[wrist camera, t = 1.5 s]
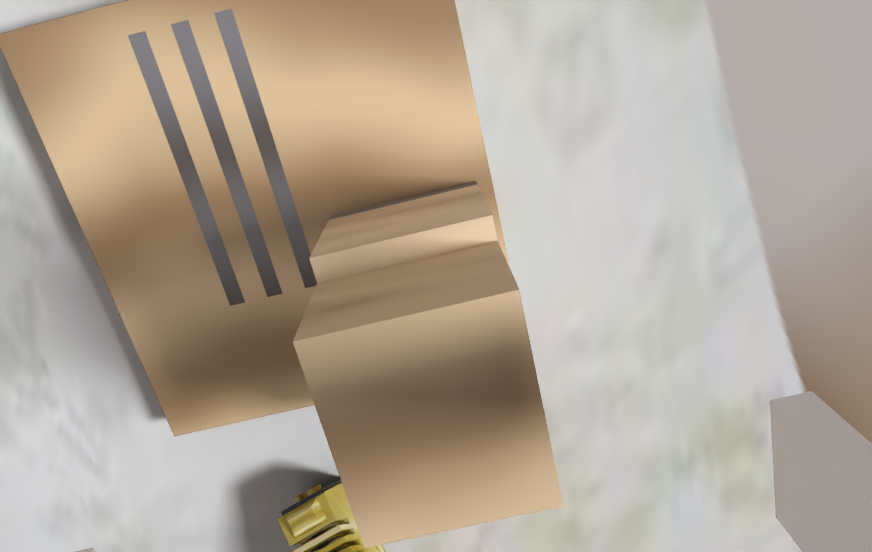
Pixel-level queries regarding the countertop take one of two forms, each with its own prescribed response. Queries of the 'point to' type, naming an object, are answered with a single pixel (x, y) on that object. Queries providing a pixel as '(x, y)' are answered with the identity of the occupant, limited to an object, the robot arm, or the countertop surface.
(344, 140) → the board
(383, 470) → the block
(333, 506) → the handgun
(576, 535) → the countertop surface
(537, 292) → the countertop surface
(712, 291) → the countertop surface
